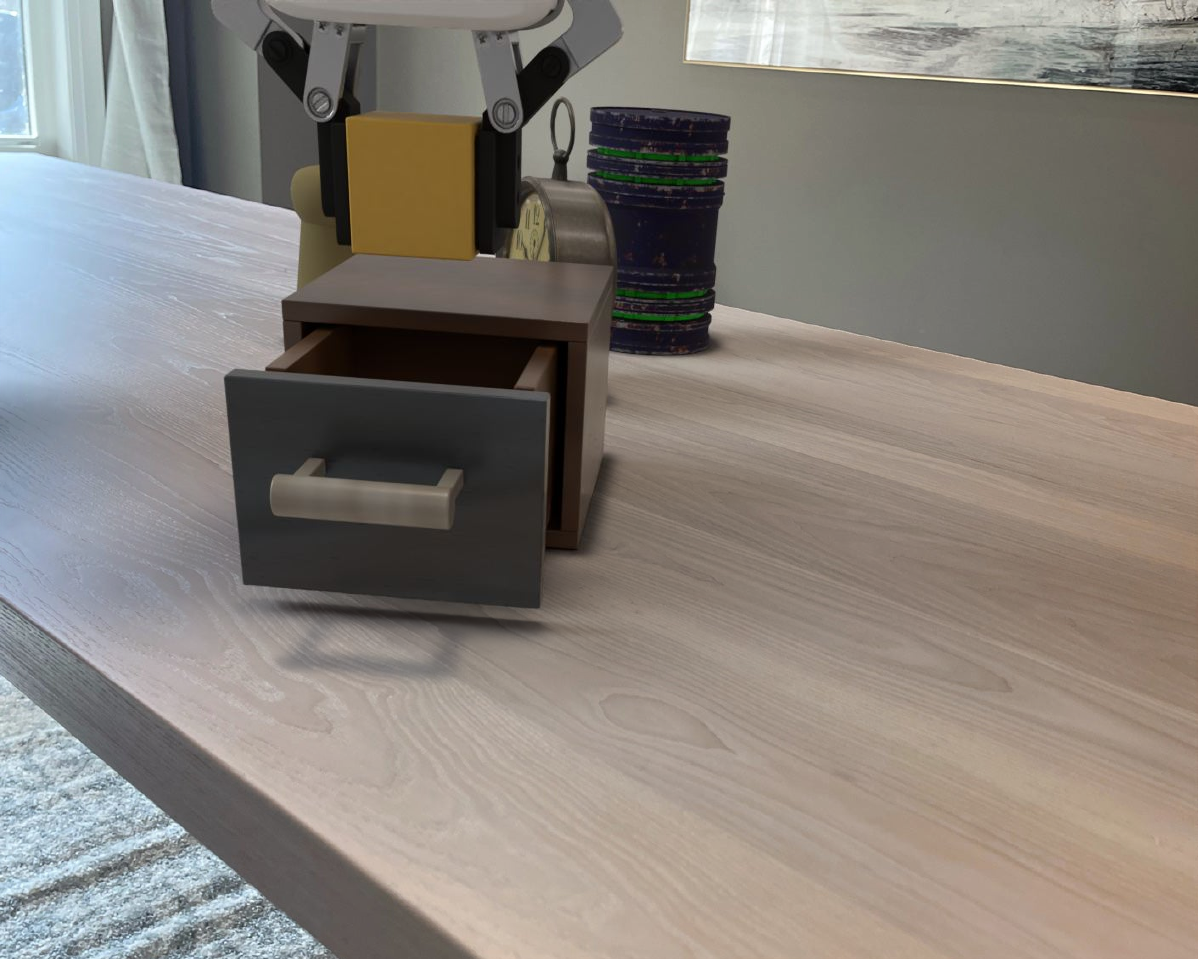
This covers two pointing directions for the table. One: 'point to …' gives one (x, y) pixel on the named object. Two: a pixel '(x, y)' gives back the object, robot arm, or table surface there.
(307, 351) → the drawer
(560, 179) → the alarm clock
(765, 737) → the table surface
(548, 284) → the cabinet
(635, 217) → the storage jar
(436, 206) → the block
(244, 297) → the table surface
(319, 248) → the cork
